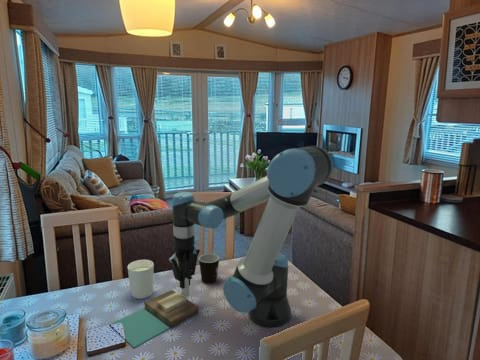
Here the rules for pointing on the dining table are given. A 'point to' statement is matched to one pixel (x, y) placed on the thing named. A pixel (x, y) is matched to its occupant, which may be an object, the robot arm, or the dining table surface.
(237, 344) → the dining table surface
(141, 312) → the mat
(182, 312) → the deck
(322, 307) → the dining table surface
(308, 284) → the dining table surface
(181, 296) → the light wooden block
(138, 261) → the candle holder
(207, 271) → the coffee mug
